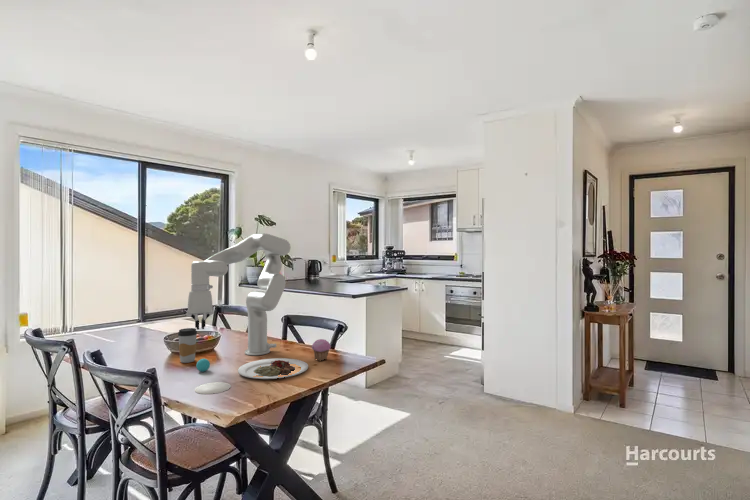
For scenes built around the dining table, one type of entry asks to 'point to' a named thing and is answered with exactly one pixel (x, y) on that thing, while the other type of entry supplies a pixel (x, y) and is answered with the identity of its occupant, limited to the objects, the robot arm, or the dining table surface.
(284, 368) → the plated food
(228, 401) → the dining table surface
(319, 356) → the cupcake
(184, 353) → the coffee cup
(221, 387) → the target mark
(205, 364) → the ball
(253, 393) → the dining table surface
